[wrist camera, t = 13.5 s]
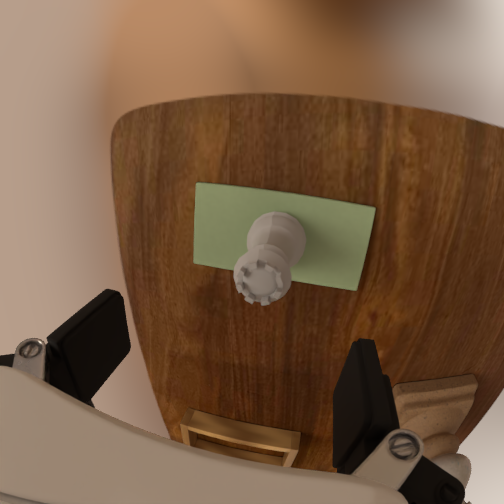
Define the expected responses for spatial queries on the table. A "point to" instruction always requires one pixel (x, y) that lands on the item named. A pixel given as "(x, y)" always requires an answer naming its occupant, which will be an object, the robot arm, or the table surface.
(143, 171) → the table surface
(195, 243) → the mat
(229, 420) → the rectangular wooden frame
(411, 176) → the table surface
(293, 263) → the rook chess piece
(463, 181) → the table surface
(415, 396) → the candle holder
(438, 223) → the table surface
